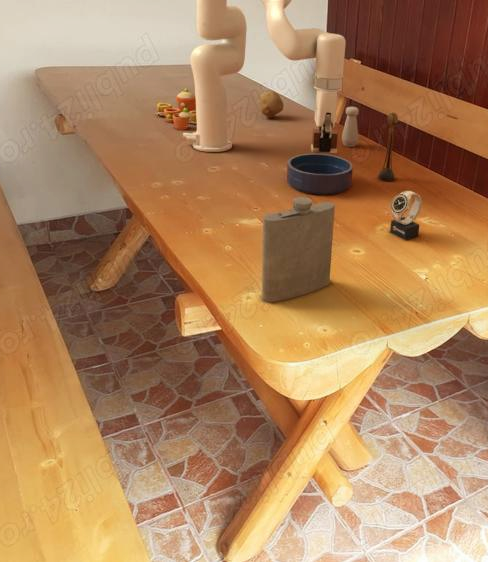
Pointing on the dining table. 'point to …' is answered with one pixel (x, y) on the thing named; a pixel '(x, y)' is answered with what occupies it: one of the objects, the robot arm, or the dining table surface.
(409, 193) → the watch
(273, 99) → the natural sponge
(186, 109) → the toy tea set
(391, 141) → the wooden tabletop sculpture
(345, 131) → the salt shaker
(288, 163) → the bowl
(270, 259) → the hip flask
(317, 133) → the eraser
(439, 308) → the dining table surface
